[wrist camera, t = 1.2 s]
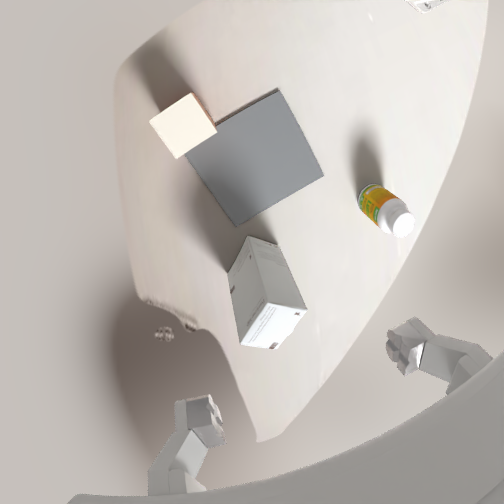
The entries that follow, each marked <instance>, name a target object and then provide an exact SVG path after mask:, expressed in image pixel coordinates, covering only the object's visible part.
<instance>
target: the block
mask: <svg viewBox="0 0 504 504" xmlns="http://www.w3.org/2000/svg"><path fill="white" fill-rule="evenodd" d="M149 122H150V124H151V125H152V126H153V128H154V129H155V131H156V132H157V133H158V135H159V136H160V137H161V139H162V140H163V142H164V143H165V144H166V146H167V147H168V149H169V150H170V151H171V153H172V154H173V156H174V157H175V158H176V159H177V158H179V157H180V156H182V155H183V154H185V153H186V152H188V151H189V150H191V149H192V148H194V147H195V146H197V145H198V144H200V143H201V142H203V141H205V140H206V139H208V138H209V137H211V136H212V135H214V134H216V133H217V129H216V126H215V124H214V122H213V120H212V119H211V117H210V116H209V114H208V113H207V111H206V110H205V108H204V107H203V105H202V104H201V102H200V101H199V99H198V98H197V96H196V95H195V93H194V92H192V93H189V94H188V95H186V96H185V97H183V98H182V99H180V100H179V101H177V102H176V103H174V104H173V105H171V106H170V107H168V108H167V109H165V110H164V111H162V112H161V113H160V114H158V115H157V116H155V117H154V118H153V119H151V120H150V121H149Z"/></svg>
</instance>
